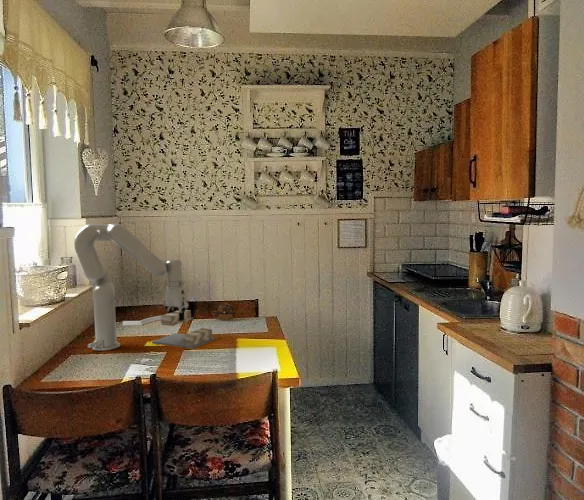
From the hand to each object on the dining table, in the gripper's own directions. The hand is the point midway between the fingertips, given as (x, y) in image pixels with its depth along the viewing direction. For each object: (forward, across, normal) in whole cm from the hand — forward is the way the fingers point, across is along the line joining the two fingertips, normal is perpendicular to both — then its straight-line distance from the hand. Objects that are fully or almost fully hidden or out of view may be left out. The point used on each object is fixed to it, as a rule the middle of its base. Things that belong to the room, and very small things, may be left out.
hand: (176, 319), depth 250 cm
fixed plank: (+11, -13, 0) cm, 17 cm away
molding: (+12, +44, -35) cm, 57 cm away
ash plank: (+1, 0, 0) cm, 1 cm away
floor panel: (+11, -4, 0) cm, 12 cm away
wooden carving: (+12, +3, -49) cm, 50 cm away
